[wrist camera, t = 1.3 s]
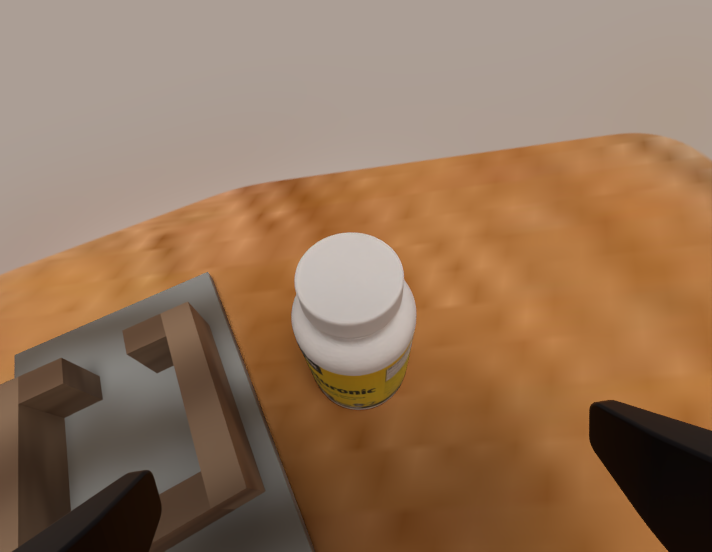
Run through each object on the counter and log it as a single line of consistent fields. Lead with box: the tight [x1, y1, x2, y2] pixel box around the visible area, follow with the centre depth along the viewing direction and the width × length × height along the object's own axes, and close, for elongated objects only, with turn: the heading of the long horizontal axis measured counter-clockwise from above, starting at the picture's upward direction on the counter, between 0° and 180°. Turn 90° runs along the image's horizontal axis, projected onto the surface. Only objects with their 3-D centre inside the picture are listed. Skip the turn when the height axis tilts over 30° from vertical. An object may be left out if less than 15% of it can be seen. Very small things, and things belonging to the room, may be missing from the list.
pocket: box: [0, 272, 315, 552], centre depth 18 cm, size 18×12×4 cm, turn 28°
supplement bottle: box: [292, 233, 416, 410], centre depth 17 cm, size 5×5×10 cm
